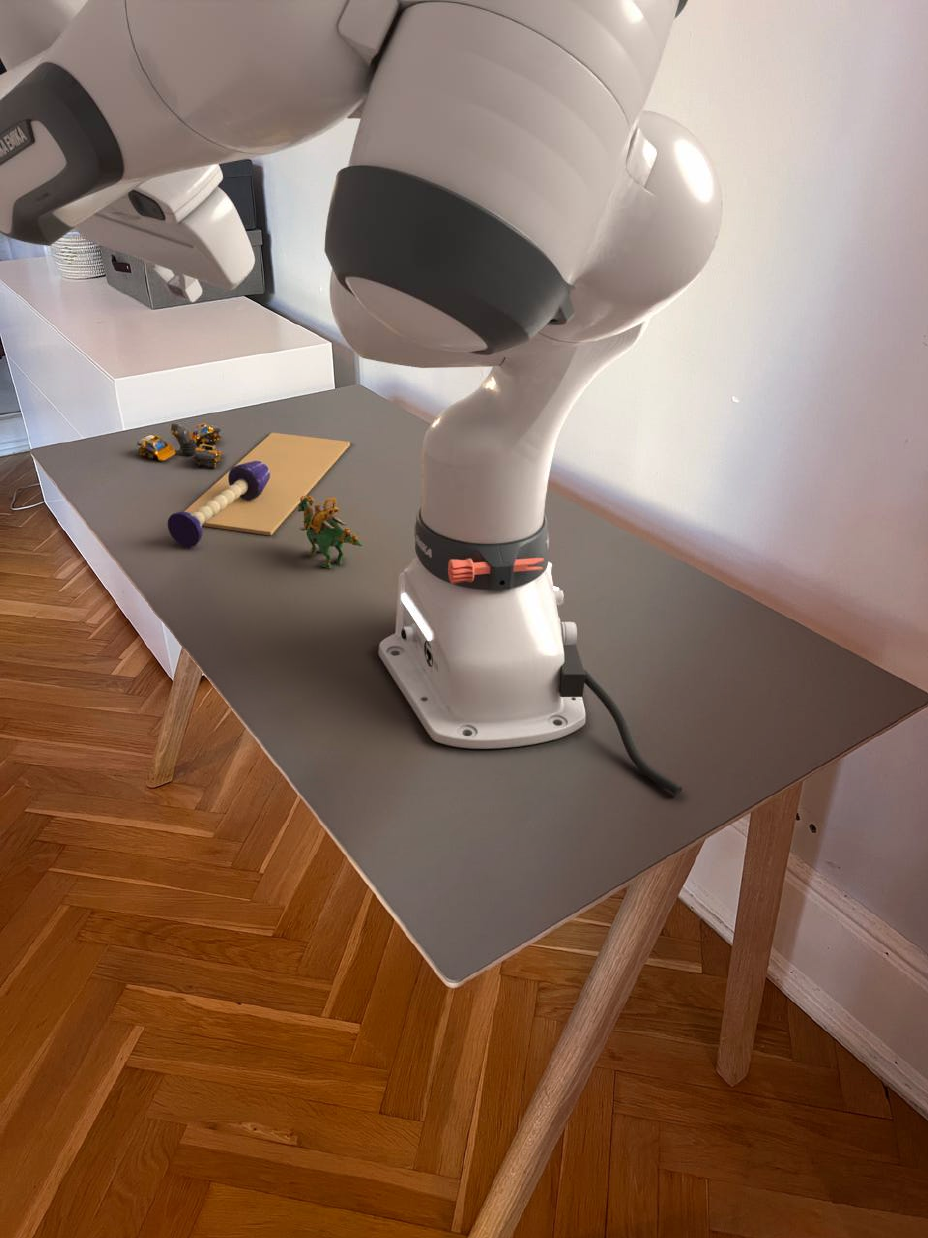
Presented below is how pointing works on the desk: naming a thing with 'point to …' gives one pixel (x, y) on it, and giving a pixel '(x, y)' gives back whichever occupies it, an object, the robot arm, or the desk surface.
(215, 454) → the toy set
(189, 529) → the toy lamp
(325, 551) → the figurine
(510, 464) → the robot arm
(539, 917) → the desk surface
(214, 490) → the wooden board
